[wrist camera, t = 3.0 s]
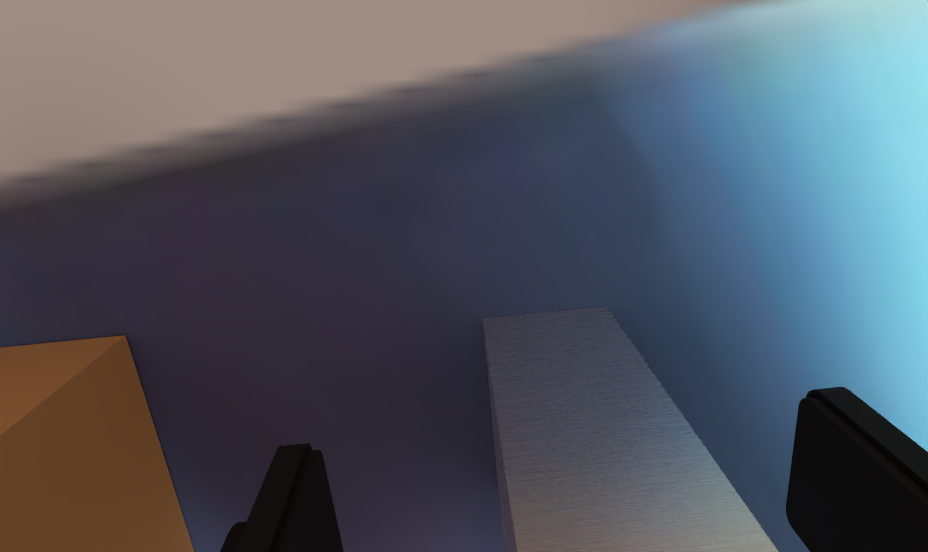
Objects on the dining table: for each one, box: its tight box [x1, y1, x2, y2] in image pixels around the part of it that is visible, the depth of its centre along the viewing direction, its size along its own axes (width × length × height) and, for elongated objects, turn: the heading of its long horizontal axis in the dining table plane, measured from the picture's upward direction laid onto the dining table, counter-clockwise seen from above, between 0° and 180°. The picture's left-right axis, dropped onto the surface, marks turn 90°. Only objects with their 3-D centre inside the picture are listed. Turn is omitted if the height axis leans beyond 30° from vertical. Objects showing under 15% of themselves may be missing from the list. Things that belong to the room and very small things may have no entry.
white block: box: [482, 306, 778, 552], centre depth 11 cm, size 3×5×8 cm, turn 5°
